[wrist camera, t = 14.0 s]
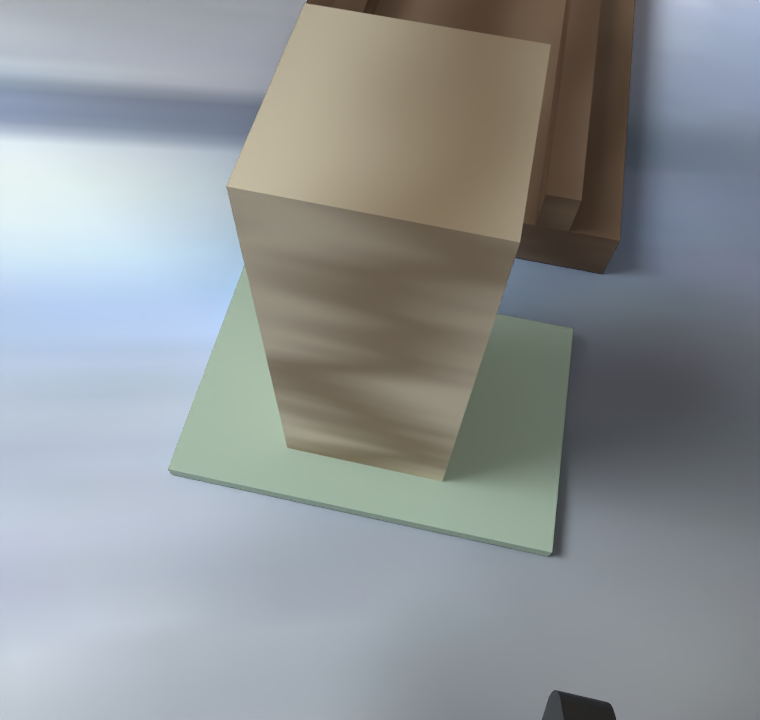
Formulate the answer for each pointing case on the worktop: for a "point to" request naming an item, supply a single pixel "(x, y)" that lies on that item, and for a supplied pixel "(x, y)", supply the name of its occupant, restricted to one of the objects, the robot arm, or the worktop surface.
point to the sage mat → (385, 487)
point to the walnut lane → (558, 113)
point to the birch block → (384, 226)
